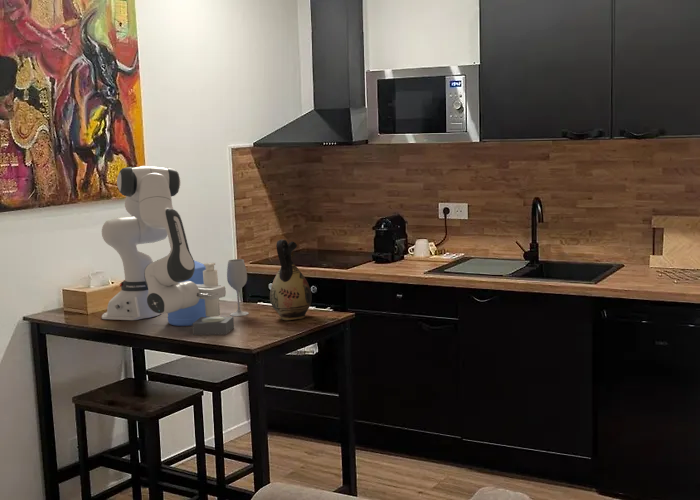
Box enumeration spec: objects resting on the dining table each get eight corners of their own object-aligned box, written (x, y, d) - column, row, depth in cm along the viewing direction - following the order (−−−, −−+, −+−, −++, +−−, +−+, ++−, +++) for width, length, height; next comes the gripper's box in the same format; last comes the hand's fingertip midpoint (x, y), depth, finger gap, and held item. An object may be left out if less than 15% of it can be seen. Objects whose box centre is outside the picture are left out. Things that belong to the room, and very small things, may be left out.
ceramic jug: (282, 312, 342) (277, 235, 337) (319, 314, 336) (315, 235, 332) (262, 322, 326) (257, 241, 322) (300, 324, 320) (296, 242, 316)
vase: (203, 316, 313) (200, 264, 310) (208, 313, 318) (204, 262, 315) (217, 316, 312) (214, 264, 310) (221, 313, 317) (218, 262, 314)
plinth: (193, 334, 312) (192, 322, 311) (201, 327, 322) (201, 316, 321) (226, 334, 310) (225, 322, 309) (234, 327, 320) (233, 315, 319)
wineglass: (251, 311, 345) (247, 258, 342) (246, 316, 338) (243, 261, 335) (231, 312, 346) (228, 259, 343) (227, 316, 339) (223, 262, 336)
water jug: (202, 326, 324) (197, 250, 320) (161, 326, 326) (156, 251, 322) (215, 317, 339) (211, 244, 335) (176, 317, 341) (171, 245, 337)
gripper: (210, 286, 297) (235, 279, 309) (163, 283, 307) (190, 276, 319) (211, 305, 298) (236, 297, 310) (165, 301, 308) (191, 293, 320)
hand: (212, 286), depth 314 cm, fingers closed on vase, 5 cm apart
